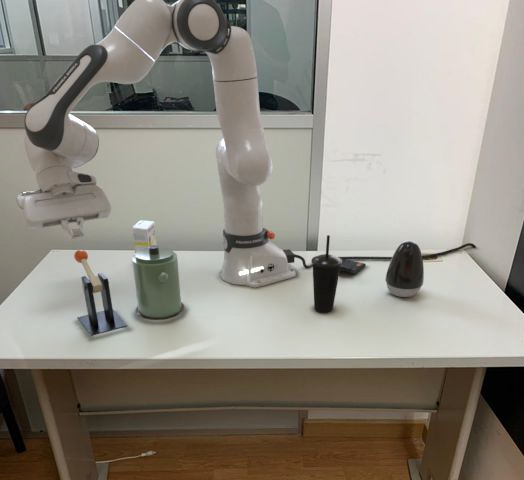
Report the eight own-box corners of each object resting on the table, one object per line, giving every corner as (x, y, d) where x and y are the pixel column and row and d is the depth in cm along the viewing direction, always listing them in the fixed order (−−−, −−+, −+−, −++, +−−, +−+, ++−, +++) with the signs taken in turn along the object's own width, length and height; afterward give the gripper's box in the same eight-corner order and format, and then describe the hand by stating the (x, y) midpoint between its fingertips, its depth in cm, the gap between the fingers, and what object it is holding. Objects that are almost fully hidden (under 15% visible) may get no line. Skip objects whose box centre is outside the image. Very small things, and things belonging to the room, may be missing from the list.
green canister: (130, 303, 142) (121, 239, 133) (175, 296, 147) (169, 233, 137) (144, 332, 129) (135, 263, 119) (193, 323, 133) (189, 256, 124)
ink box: (151, 265, 166) (146, 228, 160) (135, 265, 166) (131, 228, 160) (158, 255, 173) (154, 220, 167) (143, 255, 174) (139, 219, 168)
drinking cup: (340, 305, 142) (346, 232, 132) (334, 317, 136) (340, 242, 125) (313, 301, 144) (316, 229, 134) (305, 313, 138) (309, 238, 127)
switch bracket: (78, 321, 134) (68, 274, 127) (112, 312, 138) (105, 266, 131) (91, 339, 126) (82, 290, 119) (128, 329, 130) (121, 281, 123)
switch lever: (72, 258, 132) (72, 248, 129) (85, 255, 133) (85, 245, 131) (91, 294, 126) (90, 285, 124) (104, 291, 128) (104, 282, 125)
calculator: (365, 266, 165) (366, 257, 164) (349, 278, 157) (350, 269, 155) (338, 260, 169) (338, 251, 168) (321, 272, 161) (322, 262, 159)
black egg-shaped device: (379, 297, 146) (386, 244, 138) (388, 283, 154) (395, 232, 146) (416, 304, 142) (425, 250, 134) (424, 289, 150) (433, 238, 143)
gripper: (13, 185, 122) (33, 238, 120) (100, 174, 132) (120, 223, 130) (14, 200, 128) (32, 251, 126) (97, 189, 137) (116, 236, 135)
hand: (77, 237), depth 128 cm, fingers closed
